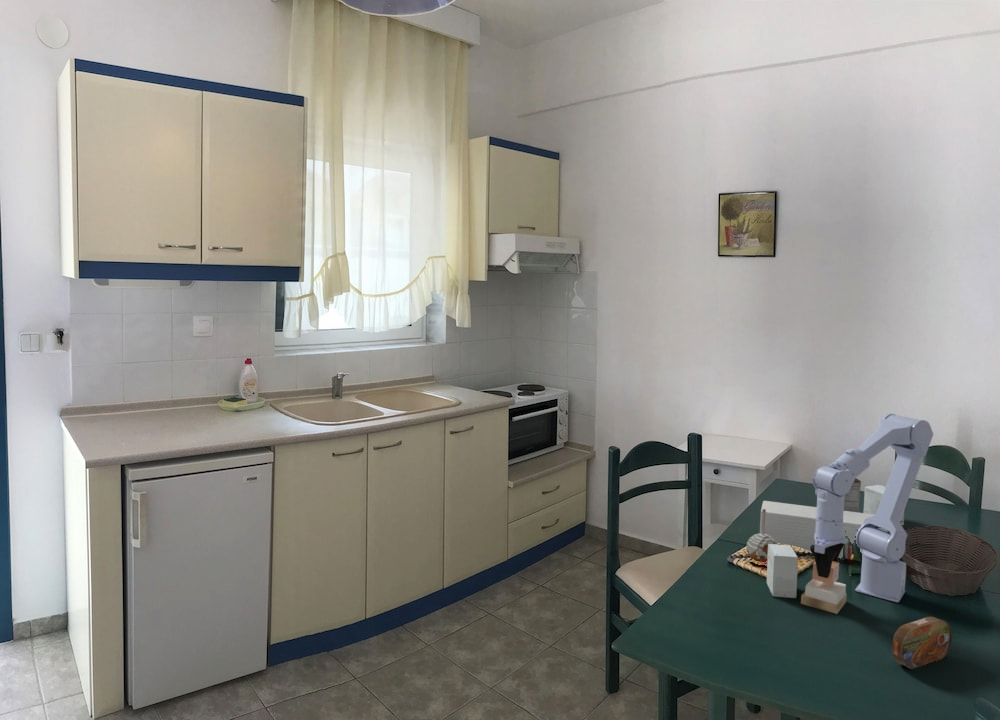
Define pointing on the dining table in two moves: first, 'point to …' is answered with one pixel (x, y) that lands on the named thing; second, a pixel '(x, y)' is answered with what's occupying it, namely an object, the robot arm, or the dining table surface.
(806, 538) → the long white box
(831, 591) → the off-white slab
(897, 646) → the tin
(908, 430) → the robot arm
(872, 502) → the skincare box
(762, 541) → the decorative ornament
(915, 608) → the dining table surface
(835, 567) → the terracotta block
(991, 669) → the dining table surface
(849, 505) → the coffee box
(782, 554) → the small box
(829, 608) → the oak slab
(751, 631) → the dining table surface
